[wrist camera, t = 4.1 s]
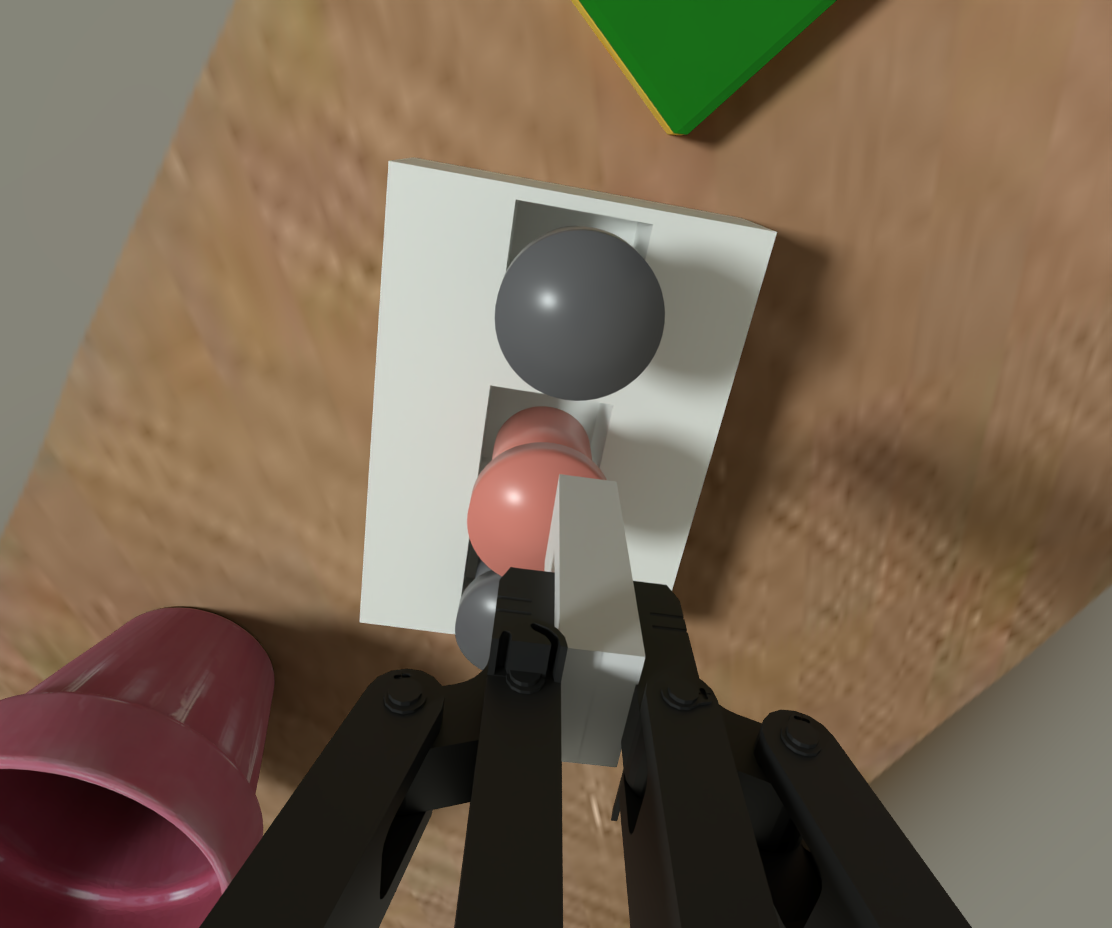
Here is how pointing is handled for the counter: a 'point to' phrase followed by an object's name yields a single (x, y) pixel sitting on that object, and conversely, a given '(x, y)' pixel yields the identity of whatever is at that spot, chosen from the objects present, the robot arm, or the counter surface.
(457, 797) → the robot arm
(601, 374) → the knob
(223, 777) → the plant pot
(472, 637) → the knob
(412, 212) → the mount
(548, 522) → the pink round knob
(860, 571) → the counter surface
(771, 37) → the dish sponge
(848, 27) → the counter surface
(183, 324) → the counter surface
